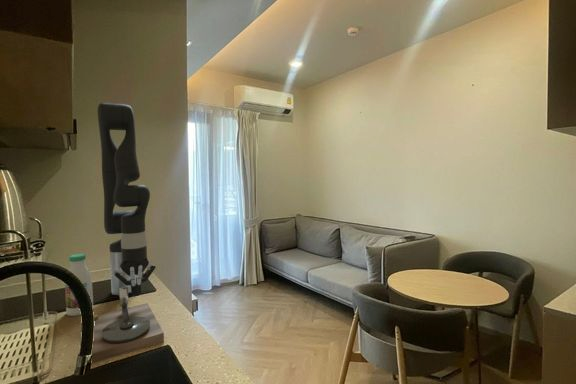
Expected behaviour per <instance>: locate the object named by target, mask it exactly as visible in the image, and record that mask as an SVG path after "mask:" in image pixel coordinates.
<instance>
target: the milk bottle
mask: <svg viewBox="0 0 576 384" xmlns="http://www.w3.org/2000/svg"><path fill="white" fill-rule="evenodd" d="M86 257H87V256H86V254H85V253H79V254H78V253H76V254H72V255H70V256H69V257H68V258H69V259H68V260H69V261H68V262H69V264H70V265H69V269H68V271H71V272H72V273H74V274H75V275H76V276H77V277H78V278H79V279H80V280H81V281H82V283H83V284H84V286H85V288H86V290H87V292H88V294H89V296H90V299H91V302H92V306H93V307H94V295H93V293H94V292H93V281H92V280H93V279H92V274H91V272H90V270H89V269H88V267H87V264H86V261H87V260H86ZM64 287H65V288H64V289H65V290H64V291H65V295H64V296H65V311H66V315H67V316H69V317H77V316H81V315H80V310H79V307H78V304H77V301H76V299H75V297H74V295H73V293H72V292H71V290H70V289H69V288H68V286H67V285H66V284H65V283H64Z"/></svg>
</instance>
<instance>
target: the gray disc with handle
mask: <svg viewBox="0 0 576 384" xmlns="http://www.w3.org/2000/svg"><path fill="white" fill-rule="evenodd" d="M119 294H120V295H119V306H120V307H121V309H122V317H123V319H121V320H118V321H115V322H113V323H111V324H109V325H107V326H106V327H105V328H104V329H103V331H102V339H103V341H105V342H107V343H124V342H128V341H132V340H135V339H137V338H139V337H141V336H143V335H144V334H146V333H147V332H148V331H149V329H150V321H149V319H147V318H145V317H129V314H128V308H129V307H128V305H129V293H128V287H122V288H120V289H119Z"/></svg>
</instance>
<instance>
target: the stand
mask: <svg viewBox="0 0 576 384" xmlns="http://www.w3.org/2000/svg"><path fill="white" fill-rule="evenodd" d="M127 308H128V314H129V317H145V318H147V319H149V321H150V329H149V331H148V332H147V333H146V334H144V335H143V336H141V337H139V338H137V339H135V340H132V341H128V342H124V343H107V342H105V341H103V339H102V331H103V329H104V328H105V327H106V326H107V325H109V324H111V323H113V322H115V321H118V320H121V319H123V317H122V308H120V309H117V310H113V311H112V310H111V311H108V312H104V313H100V314H99V313H98V314H93V315H94V321H95V326H94V341H93V347H92V364H95V363H99V362H102V361H106V360H107V359H108V360H109V359H111V358H114V357H117V356H121V355H124V354H127V353H131V352H134V351H137V350H140V349H143V348H148V347H149V346H153V345H157V344H160V343H164V341H165V336H164V335H165V334H164V330H163V329H162V327H161V324H160V323H159V321H158V320H157V318H156V316H155V314H154V313H153V312H154V311H153V310H152V308H151V307H150V305H149V303H142V304H138V305H134V306H130V307H127Z"/></svg>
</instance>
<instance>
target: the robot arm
mask: <svg viewBox="0 0 576 384" xmlns="http://www.w3.org/2000/svg"><path fill="white" fill-rule="evenodd" d="M97 120H98V129H99V138H100V147H101V176H102V186H103V203H104V204H103V224H104V225H103V226H104V232H105V233H106V234H107V235H117V234H118V235H120V234H121V235H120V239H118V240H116V241H113V242H112V243H110V244H109V262H110V263H109V264H110V266H109V267H110V285H111V286H110V289H111V295H114V296H120V294H119V289H120V288H122V287H128V294H131V295H132V296H133V297H139V296H140V294H141V293H142V284H143V283H146V282H147V281H148V279H149V278H150V276H151V275H152V274H153V272H154V270H156V268H157V267H156V265H155V264H153V263H151V262H150V261H149V260H148V248H147V247H148V243H147V242H148V241H147V233H146V214H147V210H148V205H149V202H150V198H151V197H150V196H151V192H150V190H149V188H148V187H147V186H146V185H144V184H134V185H133V184H130V183H133V182H137V180H139V179H140V177H141V173H140V167H139V161H138V156H137V143H136V141H137V140H136V122H135V121H136V120H135V114H134V111H133V108H132V107H131V105H129V104H123V103H111V102H100V103H99V104H98V106H97ZM111 130H113V131H125V135H124V137H123V140H122V141H121V143H120V145H119V146H117V144H116V143H115V142H114V140H113V138H112V136H111ZM115 206H118V207H119V208H129V207H130V208H131V207H133V208H134V207H136V208H135V210H134V211H133V210H131V209H128V210H125V209H124V210H114V209H115ZM145 270H146V271H145ZM143 273H144V274H143Z"/></svg>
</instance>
